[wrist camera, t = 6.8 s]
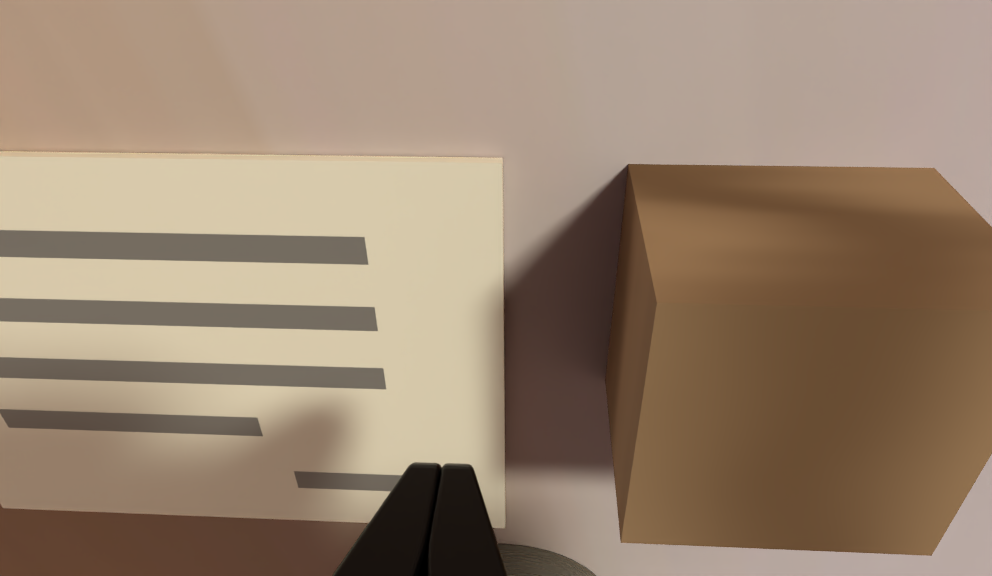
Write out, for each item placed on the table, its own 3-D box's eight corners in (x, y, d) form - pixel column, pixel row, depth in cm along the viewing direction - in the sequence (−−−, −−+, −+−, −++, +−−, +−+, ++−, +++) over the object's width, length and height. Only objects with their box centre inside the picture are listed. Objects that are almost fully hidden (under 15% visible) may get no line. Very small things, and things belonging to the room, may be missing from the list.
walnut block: (604, 376, 15) (621, 542, 12) (627, 160, 12) (657, 302, 9) (847, 383, 15) (931, 555, 12) (931, 164, 12) (1074, 311, 9)
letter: (7, 501, 19) (3, 508, 18) (-228, 148, 13) (-238, 153, 12) (505, 521, 18) (505, 528, 18) (503, 157, 12) (502, 163, 12)
